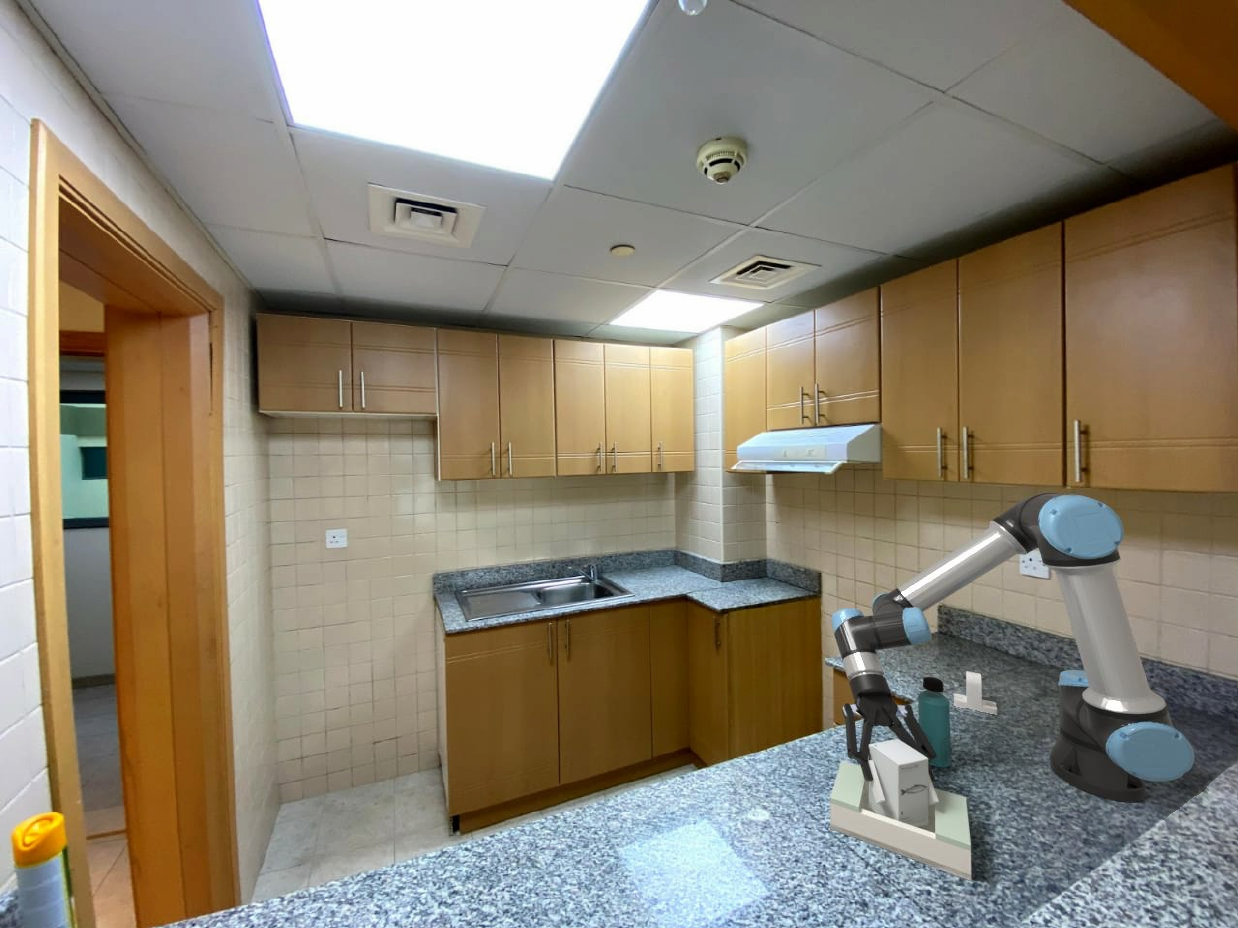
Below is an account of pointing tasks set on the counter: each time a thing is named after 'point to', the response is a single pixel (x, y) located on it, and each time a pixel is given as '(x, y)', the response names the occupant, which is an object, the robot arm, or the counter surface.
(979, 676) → the cable organizer
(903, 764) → the supplement box
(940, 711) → the beverage bottle
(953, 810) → the cream green tray
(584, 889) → the counter surface
